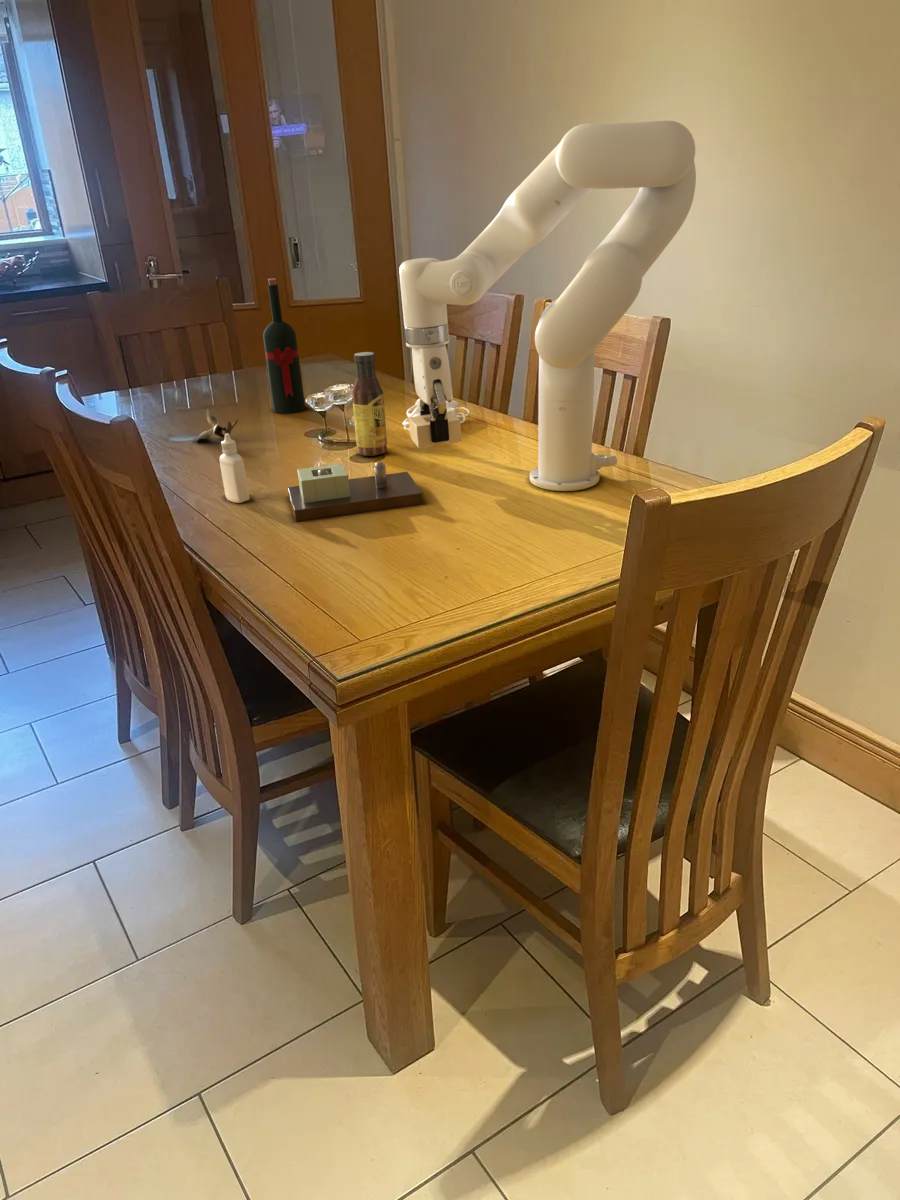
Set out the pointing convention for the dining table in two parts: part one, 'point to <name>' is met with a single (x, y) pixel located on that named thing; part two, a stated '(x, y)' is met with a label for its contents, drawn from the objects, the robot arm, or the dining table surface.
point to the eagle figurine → (215, 427)
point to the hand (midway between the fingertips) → (435, 435)
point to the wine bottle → (282, 359)
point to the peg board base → (361, 495)
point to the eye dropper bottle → (233, 472)
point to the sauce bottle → (368, 407)
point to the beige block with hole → (423, 434)
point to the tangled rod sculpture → (449, 406)
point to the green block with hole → (323, 483)
